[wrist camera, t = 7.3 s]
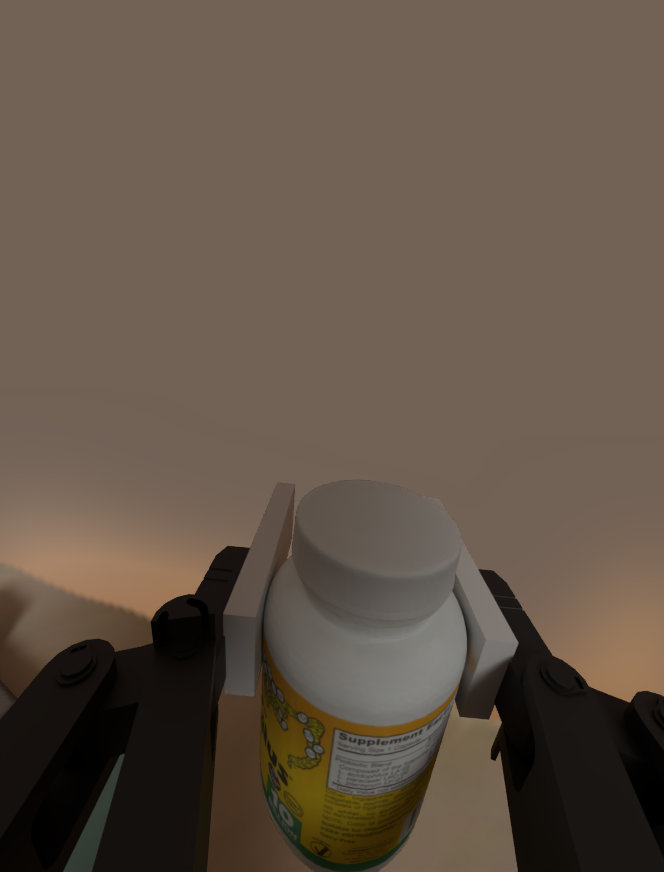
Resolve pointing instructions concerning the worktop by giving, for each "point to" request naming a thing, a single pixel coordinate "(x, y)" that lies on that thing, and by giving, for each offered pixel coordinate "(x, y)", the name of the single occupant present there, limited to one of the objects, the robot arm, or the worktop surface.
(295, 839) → the supplement bottle
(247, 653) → the robot arm
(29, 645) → the worktop surface
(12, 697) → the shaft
